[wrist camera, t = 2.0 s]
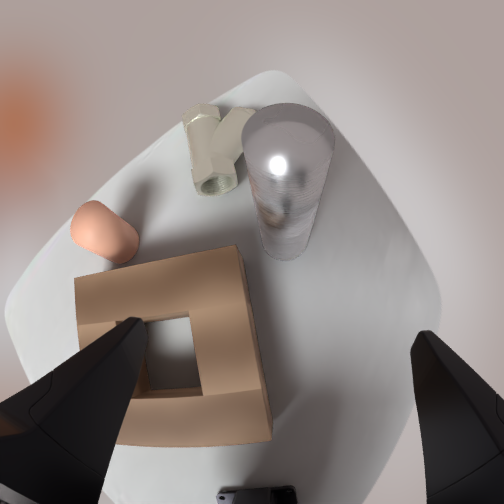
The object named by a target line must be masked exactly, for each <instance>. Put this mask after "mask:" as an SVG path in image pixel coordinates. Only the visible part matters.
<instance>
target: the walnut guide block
mask: <svg viewBox="0 0 504 504" xmlns="http://www.w3.org/2000/svg"><path fill="white" fill-rule="evenodd" d="M74 284H75V305H76V319H77V330H78V339H79V347H80V350H82V349H83V348H85V347H86V346H88V345H89V344H90V343H92V342H93V341H95V340H96V339H98V338H99V337H101V336H102V335H103V334H105V333H106V332H108V331H109V330H111V329H112V328H114V327H115V326H116V325H118V324H119V323H121V322H122V321H124V320H125V319H127V318H128V317H130V316H133V317H140V318H141V319H142V320H143V322H144V323H148V322H155V321H163V320H170V319H176V318H183V317H190V323H191V330H192V336H193V342H194V348H195V354H196V360H197V365H198V371H199V376H200V381H201V386H200V387H189V388H176V389H159V390H151V388H150V383H149V377H148V372H147V366H146V360H145V354H144V358H143V362H142V366H141V370H140V374H139V378H138V381H137V384H136V387H135V389H134V392H133V395H132V398H131V400H130V403H129V406H128V409H127V412H126V414H125V417H124V420H123V423H122V426H121V429H120V432H119V435H118V438H117V441H116V444H119V445H131V446H146V447H212V446H228V445H239V444H249V443H258V442H265V441H271V439H272V428H273V420H272V415H271V409H270V404H269V399H268V394H267V388H266V383H265V377H264V372H263V367H262V361H261V356H260V350H259V345H258V340H257V334H256V329H255V323H254V317H253V312H252V306H251V301H250V295H249V290H248V284H247V278H246V273H245V267H244V261H243V258H242V256H241V254H240V252H239V250H238V248H237V246H236V245H231V246H226V247H221V248H216V249H211V250H206V251H201V252H196V253H191V254H186V255H182V256H177V257H172V258H167V259H162V260H157V261H152V262H148V263H143V264H138V265H133V266H129V267H124V268H119V269H114V270H110V271H105V272H100V273H96V274H91V275H86V276H82V277H77V278H74Z"/></svg>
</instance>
